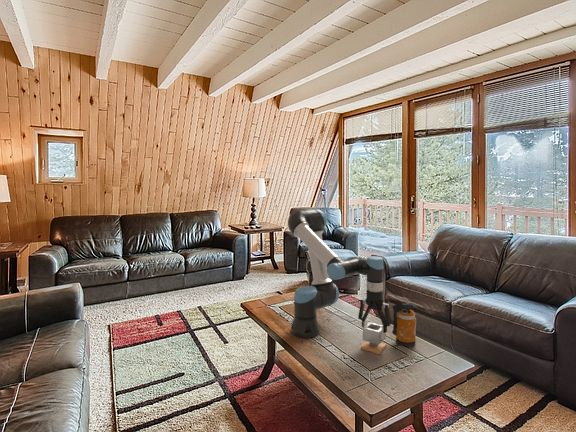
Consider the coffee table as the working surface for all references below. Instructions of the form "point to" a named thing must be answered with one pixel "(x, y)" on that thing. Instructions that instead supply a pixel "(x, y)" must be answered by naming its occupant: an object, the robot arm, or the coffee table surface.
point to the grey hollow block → (372, 333)
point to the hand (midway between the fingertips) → (374, 336)
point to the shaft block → (373, 347)
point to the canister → (404, 324)
